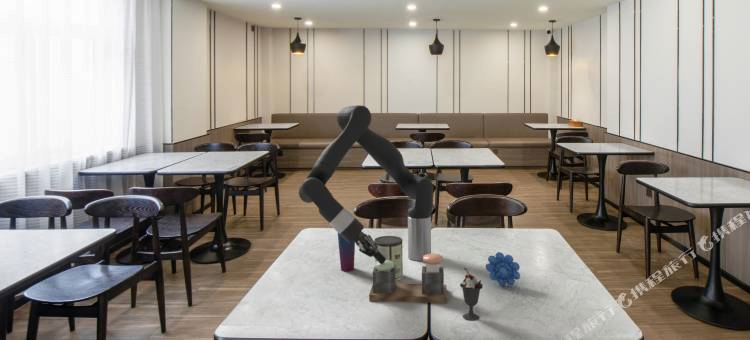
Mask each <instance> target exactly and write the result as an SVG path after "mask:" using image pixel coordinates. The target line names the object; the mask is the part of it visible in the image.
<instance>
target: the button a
mask: <svg viewBox="0 0 750 340" xmlns="http://www.w3.org/2000/svg"><path fill="white" fill-rule="evenodd" d="M374 267H375V269H376V270H377V271H385V272H391V270H392V269H393V268H394V262H393V261H390V260H385V262H384V263H383V264H380V263H379V262H378V261H376V262H375V261H374Z"/></svg>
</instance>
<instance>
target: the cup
mask: <svg viewBox="0 0 750 340" xmlns="http://www.w3.org/2000/svg"><path fill="white" fill-rule="evenodd" d="M337 240H338V252H339V261H340V262H339V263H340V271H343V272H351V271H354V269H355V252H356V247H355V246H356V243H355V242H354V240H352V241H351V242H347V241H346V240H345V239H344V238H343V237H342V236H341V235H340V234H339V233H338V232H337Z"/></svg>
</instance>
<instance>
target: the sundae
mask: <svg viewBox="0 0 750 340" xmlns="http://www.w3.org/2000/svg"><path fill="white" fill-rule="evenodd" d="M463 270H465V272H466V275H464V278H463V280H462V281H461V283H460V284H459V285H460V288H461V289H462V294H463V296H462V297H463V300H464V303H465V304H466V305H467V306H468V309H469V310H468V312H467V313H463V315H462V318H463V319H464V320H466V321H471V322H472V321H473V322H474V321H477V320H479V319H480V315H478V314H477V313H475V312H474V307H475V306H476V305H477V304H478V303H479V298H480V291H481V289H482V290H483V284H482V280H481V279H480V280H479V281H478V278H477V277H475V276H474V275H472V274H470V272H469V271H468V269H467V268H466V267H464V268H463Z"/></svg>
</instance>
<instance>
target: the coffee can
mask: <svg viewBox="0 0 750 340" xmlns="http://www.w3.org/2000/svg"><path fill="white" fill-rule="evenodd" d="M373 241H374V242H375V244H376V245H377V246H378V250H379V252H380V253H381V254H382V255H383V256H384V257H385V258H386V260H390V261H393V262H394V266H396V282H397V281H399V280H401V279H403V277H404V274H403V270H404V268H403V267H404V266H403V238H402V237H400V236H397V235H381V236H378V237H375V238H374V239H373ZM376 261H377V260H376V259H375V258H374V263H375V262H376Z"/></svg>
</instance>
